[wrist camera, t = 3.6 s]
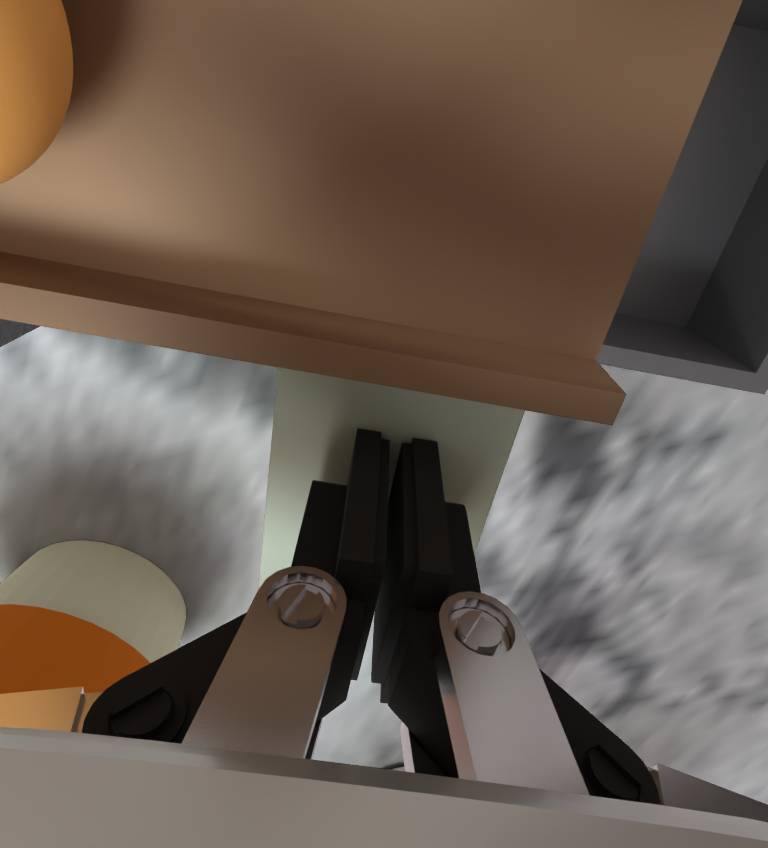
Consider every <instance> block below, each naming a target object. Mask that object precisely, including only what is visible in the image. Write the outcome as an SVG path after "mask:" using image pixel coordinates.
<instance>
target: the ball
mask: <svg viewBox="0 0 768 848" xmlns="http://www.w3.org/2000/svg"><path fill="white" fill-rule="evenodd" d="M72 84H73V51H72V43H71V36H70V30H69V26H68V22H67V17H66V13H65V10H64V7H63V4H62V0H0V184H2V183H4V182H7V181H9V180H10V179H12V178H14V177H15V176H17V175H19V174H20V173H22V172H23V171H25V170H26V169H28V168H29V167H30V166H31V165H32V164H33V163H35V162H36V161H37V160H38V159H39V158H40V157H41V155H42V154H43V153H44V152H45V151H46V150H47V149H48V148H49V146H50V145H51V143H52V142H53V141H54V139H55V138H56V136H57V134H58V131H59V129H60V127H61V125H62V123H63V121H64V119H65V116H66V113H67V109H68V106H69V103H70V97H71V92H72Z"/></svg>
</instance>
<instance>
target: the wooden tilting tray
mask: <svg viewBox="0 0 768 848" xmlns="http://www.w3.org/2000/svg"><path fill="white" fill-rule="evenodd" d="M742 1H743V0H62V4H63V7H64V10H65V13H66V17H67V22H68V26H69V30H70V36H71V43H72V51H73V84H72V92H71V97H70V103H69V106H68V109H67V113H66V116H65V119H64V121H63V123H62V125H61V127H60V129H59V131H58V134H57V136H56V138H55V139H54V141H53V142H52V143H51V145H50V146H49V148H48V149H47V150H46V151H45V152H44V153H43V154H42V155H41V157H40V158H39V159H38V160H37V161H36V162H35V163H33V164H32V165H31V166H30V167H29V168H28V169H26V170H25V171H23V172H22V173H20V174H19V175H17V176H15V177H14V178H12V179H10V180H9V181H7V182H4V183H2V184H0V319H4V320H10V321H16V322H21V323H27V324H33V325H39V326H44V327H50V328H56V329H62V330H67V331H73V332H79V333H85V334H90V335H96V336H102V337H108V338H113V339H119V340H125V341H131V342H136V343H142V344H148V345H154V346H159V347H165V348H171V349H177V350H182V351H188V352H194V353H199V354H205V355H211V356H217V357H222V358H228V359H234V360H240V361H245V362H251V363H257V364H263V365H268V366H274V367H278V375H277V386H276V397H275V408H274V420H273V431H272V442H271V453H270V464H269V475H268V486H267V498H266V509H265V520H264V531H263V542H262V553H261V564H260V576H259V587H258V590H259V588H260V586H261V585H262V584H263V582H264V581H265V580H266V578H268V577H269V576H271V575H272V574H274V573H275V572H276V571H279V570H282V569H285V568H287V567H291V564H292V560H293V556H294V552H295V548H296V544H297V540H298V536H299V532H300V528H301V524H302V520H303V516H304V512H305V508H306V504H307V500H308V496H309V492H310V488H311V484H312V481H313V480H316V481H322V482H328V483H335V484H341V485H347V481H348V476H349V470H350V465H351V459H352V454H353V449H354V443H355V438H356V432H357V428H360V429H366V430H372V431H378V432H381V439H386V440H390V455H389V488H388V499H389V495H390V491H391V486H392V482H393V478H394V474H395V469H396V465H397V461H398V457H399V452H400V448H401V444H402V442H404V443H410V444H411V442H412V438H419V439H424V440H430V441H436V442H437V443H438V449H439V458H440V466H441V474H442V482H443V490H444V499H445V502H451V503H457V504H463V505H464V506H465V508H466V511H467V517H468V522H469V528H470V534H471V539H472V545H473V551H474V553H475V550H476V547H477V545H478V542H479V539H480V536H481V533H482V530H483V528H484V525H485V522H486V519H487V516H488V513H489V511H490V508H491V505H492V502H493V499H494V496H495V494H496V491H497V488H498V485H499V482H500V479H501V477H502V474H503V471H504V468H505V465H506V463H507V460H508V457H509V454H510V451H511V448H512V446H513V443H514V440H515V437H516V434H517V431H518V429H519V426H520V423H521V420H522V417H523V414H524V412H525V410H527V411H533V412H538V413H544V414H550V415H556V416H561V417H567V418H573V419H579V420H584V421H590V422H596V423H602V424H607V425H613V423H614V421H615V418H616V416H617V414H618V412H619V410H620V407H621V405H622V403H623V401H624V399H625V396H626V393H625V392H624V391H623V390H622V389H621V388H620V387H619V386H618V385H617V383H616V382H615V381H614V380H613V379H612V378H611V377H610V376H609V374H608V373H607V372H606V371H605V370H604V369H603V368H602V367H601V366H600V364H599V363H598V362H597V361H596V359H597V357H598V354H599V352H600V350H601V347H602V345H603V342H604V340H605V337H606V335H607V332H608V330H609V327H610V325H611V323H612V320H613V318H614V315H615V313H616V310H617V308H618V305H619V303H620V300H621V298H622V296H623V293H624V291H625V288H626V286H627V283H628V281H629V278H630V276H631V273H632V271H633V268H634V266H635V264H636V261H637V259H638V256H639V254H640V251H641V249H642V246H643V244H644V241H645V239H646V237H647V234H648V232H649V229H650V227H651V224H652V222H653V219H654V217H655V214H656V212H657V210H658V207H659V205H660V202H661V200H662V197H663V195H664V192H665V190H666V187H667V185H668V183H669V180H670V178H671V175H672V173H673V170H674V168H675V165H676V163H677V160H678V158H679V156H680V153H681V151H682V148H683V146H684V143H685V141H686V138H687V136H688V133H689V131H690V129H691V126H692V124H693V121H694V119H695V116H696V114H697V111H698V109H699V106H700V104H701V102H702V99H703V97H704V94H705V92H706V89H707V87H708V84H709V82H710V79H711V77H712V74H713V72H714V70H715V67H716V65H717V62H718V60H719V57H720V55H721V52H722V50H723V47H724V45H725V43H726V40H727V38H728V35H729V33H730V30H731V28H732V25H733V23H734V20H735V18H736V16H737V13H738V11H739V8H740V6H741V3H742Z"/></svg>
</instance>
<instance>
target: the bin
mask: <svg viewBox="0 0 768 848" xmlns="http://www.w3.org/2000/svg"><path fill="white" fill-rule="evenodd" d="M596 361H597V362H598V363H599V364H603V365H609V366H614V367H620V368H625V369H630V370H636V371H641V372H647V373H652V374H657V375H663V376H668V377H674V378H679V379H685V380H690V381H695V382H701V383H706V384H712V385H717V386H722V387H728V388H733V389H739V390H744V391H750V392H755V393H760V394H765V392H766V391H767V389H768V0H743V1H742V3H741V6H740V8H739V11H738V13H737V16H736V18H735V20H734V23H733V25H732V28H731V30H730V33H729V35H728V38H727V40H726V43H725V45H724V47H723V50H722V52H721V55H720V57H719V60H718V62H717V65H716V67H715V70H714V72H713V74H712V77H711V79H710V82H709V84H708V87H707V89H706V92H705V94H704V97H703V99H702V102H701V104H700V106H699V109H698V111H697V114H696V116H695V119H694V121H693V124H692V126H691V129H690V131H689V133H688V136H687V138H686V141H685V143H684V146H683V148H682V151H681V153H680V156H679V158H678V160H677V163H676V165H675V168H674V170H673V173H672V175H671V178H670V180H669V183H668V185H667V187H666V190H665V192H664V195H663V197H662V200H661V202H660V205H659V207H658V210H657V212H656V214H655V217H654V219H653V222H652V224H651V227H650V229H649V232H648V234H647V237H646V239H645V241H644V244H643V246H642V249H641V251H640V254H639V256H638V259H637V261H636V264H635V266H634V268H633V271H632V273H631V276H630V278H629V281H628V283H627V286H626V288H625V291H624V293H623V296H622V298H621V300H620V303H619V305H618V308H617V310H616V313H615V315H614V318H613V320H612V323H611V325H610V327H609V330H608V332H607V335H606V337H605V340H604V342H603V345H602V347H601V350H600V352H599V354H598V357H597V359H596Z"/></svg>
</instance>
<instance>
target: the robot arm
mask: <svg viewBox="0 0 768 848" xmlns="http://www.w3.org/2000/svg"><path fill="white" fill-rule="evenodd" d="M389 455H390V440H386V439H381V432H378V431H372V430H366V429H360V428H357V432H356V438H355V443H354V449H353V454H352V459H351V465H350V470H349V476H348V481H347V485H341V484H335V483H328V482H322V481H316V480H313V481H312V484H311V488H310V492H309V496H308V500H307V504H306V508H305V512H304V516H303V520H302V524H301V528H300V532H299V536H298V540H297V544H296V548H295V552H294V556H293V560H292V564H291V567H287V568H285V569H282V570H279V571H276V572H275V573H274V574H272V575H271V576H269V577H268V578H266V580H265V581H264V582H263V584H262V585H261V586H260V588H259V590H258V592H257V594H256V596H255V598H254V600H253V602H252V604H251V606H250V608H249V610H248V612H247V613H245V614H243V615H241V616H239V617H237V618H235V619H234V620H232V621H230V622H228V623H226V624H224V625H222V626H220V627H218V628H216V629H215V630H213V631H211V632H209V633H207V634H205V635H203V636H201V637H199V638H197V639H196V640H194V641H192V642H190V643H188V644H186V645H184V646H182V647H180V648H178V649H177V650H175V651H173V652H171V653H169V654H167V655H165V656H163V657H161V658H159V659H158V660H156V661H154V662H152V663H150V664H148V665H146V666H144V667H142V668H140V669H139V670H137V671H135V672H133V673H131V674H129V675H127V676H125V677H123V678H121V679H120V680H119V681H117V682H116V683H114V684H113V685H111V686H110V687H108V688H107V689H105V691H104V692H95V693H84V689H83V687H71V688H60V689H49V690H38V691H27V692H16V693H5V694H0V848H768V805H767V804H764V803H762V802H759V801H756V800H754V799H751V798H749V797H746V796H743V795H741V794H738V793H735V792H733V791H730V790H727V789H725V788H722V787H719V786H717V785H714V784H711V783H709V782H706V781H704V780H701V779H698V778H696V777H693V776H690V775H688V774H685V773H682V772H680V771H677V770H674V769H672V768H669V767H666V766H664V765H661V764H659V763H656V764H655V765H654V767H653V768H649V767H647V766H645V764H644V763H643V761H642V760H641V759H640V758H639V757H638V756H637V755H636V754H635V753H634V751H633V750H632V749H631V748H630V747H629V746H628V745H626V744H625V743H624V742H623V741H622V740H621V739H619V738H618V737H617V736H616V735H615V734H614V733H613V732H611V731H610V730H609V729H608V728H607V727H606V726H605V725H603V724H602V723H601V722H600V721H599V720H598V719H596V718H595V717H594V716H593V715H592V714H591V713H590V712H588V711H587V710H586V709H585V708H584V707H583V706H582V705H580V704H579V703H578V702H577V701H576V700H575V699H573V698H572V697H571V696H570V695H569V694H568V693H567V692H565V691H564V690H563V689H562V688H561V687H560V686H558V685H557V684H556V683H555V682H554V681H553V680H552V679H550V678H549V677H548V676H547V675H546V674H545V673H544V672H542V671H541V670H540V669H539V668H538V665H537V663H536V660H535V658H534V655H533V653H532V650H531V648H530V645H529V643H528V640H527V638H526V635H525V633H524V630H523V628H522V626H521V624H520V622H519V620H518V619H517V617H516V615H515V614H514V613H513V612H512V611H511V610H510V609H509V608H508V607H507V606H506V605H504V604H503V603H501V602H500V601H498V600H497V599H495V598H493V597H491V596H488V595H486V594H483V593H481V591H480V585H479V579H478V574H477V568H476V562H475V556H474V551H473V545H472V539H471V534H470V528H469V522H468V517H467V511H466V508H465V506H464V505H463V504H457V503H451V502H445V499H444V490H443V482H442V474H441V466H440V458H439V449H438V443H437V442H436V441H430V440H424V439H419V438H412V442H411V444H410V443H404V442H402V444H401V448H400V452H399V457H398V461H397V465H396V469H395V474H394V478H393V482H392V486H391V491H390V495H389V499H388V488H389ZM374 611H375V614H374ZM373 615H374V634H373V653H372V672H371V681H372V683H379V684H381V699H380V703H388V706H389V707H390V708H391V709H392V710H393V712H394V713H395V714H396V715H397V716H398V717H399V718H400V720H401V721H402V722H401V727H400V738H401V745H402V753H403V760H404V767H398V768H393V769H390V770H389V769H381V768H373V767H365V766H357V765H350V764H342V763H334V762H326V761H318V760H312V757H313V754H314V750H315V746H316V743H317V739H318V735H319V732H320V728H321V724H322V719H323V717H324V716H326V715H327V714H328V713H330V712H331V711H332V710H334V709H335V708H336V707H338V706H339V705H340V704H341V703H343V702H344V701H345V700H346V698H347V694H348V690H349V685H350V681H351V680H357V678H358V674H359V670H360V667H361V663H362V659H363V655H364V651H365V647H366V643H367V639H368V635H369V631H370V627H371V623H372V619H373Z"/></svg>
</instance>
